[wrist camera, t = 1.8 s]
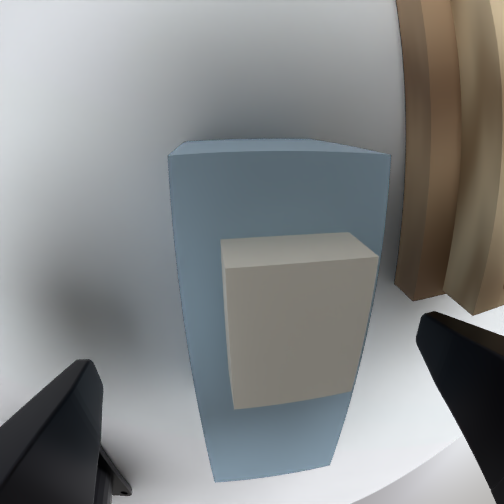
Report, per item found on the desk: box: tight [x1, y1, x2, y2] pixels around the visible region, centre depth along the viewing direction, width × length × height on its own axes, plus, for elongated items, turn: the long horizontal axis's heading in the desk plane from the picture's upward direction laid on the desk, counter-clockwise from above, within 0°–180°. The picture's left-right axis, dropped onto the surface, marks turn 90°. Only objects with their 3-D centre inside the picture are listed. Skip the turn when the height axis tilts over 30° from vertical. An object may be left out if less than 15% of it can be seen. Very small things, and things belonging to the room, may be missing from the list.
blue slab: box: [168, 138, 391, 482], centre depth 9 cm, size 10×4×6 cm, turn 1°
